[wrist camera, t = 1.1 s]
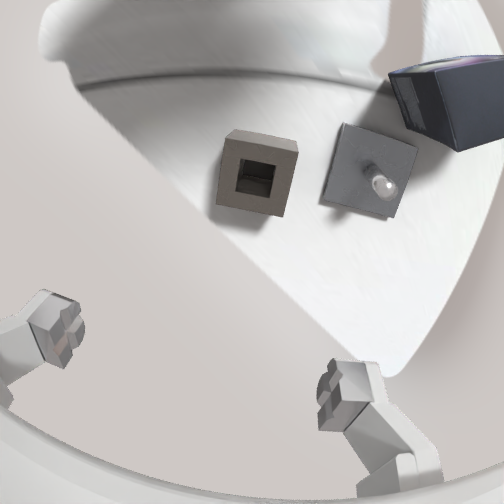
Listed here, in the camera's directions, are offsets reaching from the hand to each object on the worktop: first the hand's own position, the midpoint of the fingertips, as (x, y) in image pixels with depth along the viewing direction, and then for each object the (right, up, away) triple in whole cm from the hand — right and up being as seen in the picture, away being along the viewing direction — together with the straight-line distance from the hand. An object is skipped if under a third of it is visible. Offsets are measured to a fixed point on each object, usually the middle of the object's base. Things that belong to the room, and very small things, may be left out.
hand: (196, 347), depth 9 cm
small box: (+20, +19, +13) cm, 31 cm away
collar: (+2, +12, +20) cm, 23 cm away
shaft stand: (+14, +11, +19) cm, 26 cm away
